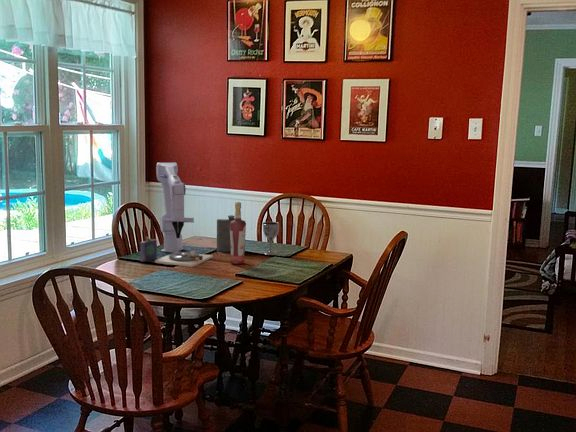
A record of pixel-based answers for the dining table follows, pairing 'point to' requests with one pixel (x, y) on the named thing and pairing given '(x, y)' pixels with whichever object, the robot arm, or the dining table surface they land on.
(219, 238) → the flask
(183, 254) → the flange plate
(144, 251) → the blue grey box
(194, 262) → the base board
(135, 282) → the dining table surface
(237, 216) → the liquor
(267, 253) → the wine glass
